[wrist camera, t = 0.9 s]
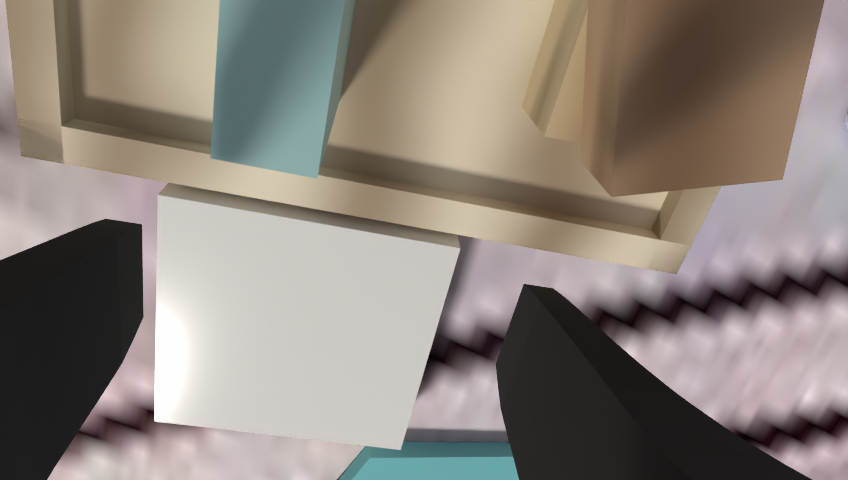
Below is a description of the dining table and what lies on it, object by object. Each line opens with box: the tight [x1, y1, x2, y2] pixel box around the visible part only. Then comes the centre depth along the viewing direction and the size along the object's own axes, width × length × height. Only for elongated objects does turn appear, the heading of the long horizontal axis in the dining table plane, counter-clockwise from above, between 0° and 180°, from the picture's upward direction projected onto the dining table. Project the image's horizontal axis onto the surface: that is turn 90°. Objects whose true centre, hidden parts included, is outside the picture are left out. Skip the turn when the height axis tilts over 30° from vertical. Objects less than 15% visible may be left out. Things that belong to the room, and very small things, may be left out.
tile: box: [154, 183, 460, 450], centre depth 22 cm, size 10×10×2 cm
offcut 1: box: [522, 0, 588, 144], centre depth 16 cm, size 5×5×3 cm
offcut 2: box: [580, 0, 824, 197], centre depth 14 cm, size 4×5×2 cm
